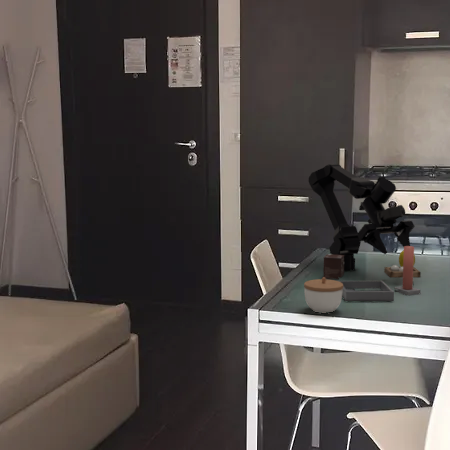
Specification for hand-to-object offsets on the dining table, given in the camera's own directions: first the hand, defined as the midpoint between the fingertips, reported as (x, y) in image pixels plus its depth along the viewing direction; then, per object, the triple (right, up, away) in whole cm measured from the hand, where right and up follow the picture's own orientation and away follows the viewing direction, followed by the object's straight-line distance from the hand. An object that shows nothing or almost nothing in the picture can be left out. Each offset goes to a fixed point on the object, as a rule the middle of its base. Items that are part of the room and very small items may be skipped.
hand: (397, 252), depth 221 cm
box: (-17, -9, +18) cm, 26 cm away
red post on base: (+2, -12, -3) cm, 13 cm away
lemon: (+10, -8, +27) cm, 30 cm away
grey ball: (+6, -8, +17) cm, 20 cm away
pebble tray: (+6, -9, +18) cm, 21 cm away
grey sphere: (+4, -8, +19) cm, 21 cm away
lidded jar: (-26, -16, -23) cm, 38 cm away
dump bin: (-12, -13, -7) cm, 19 cm away
